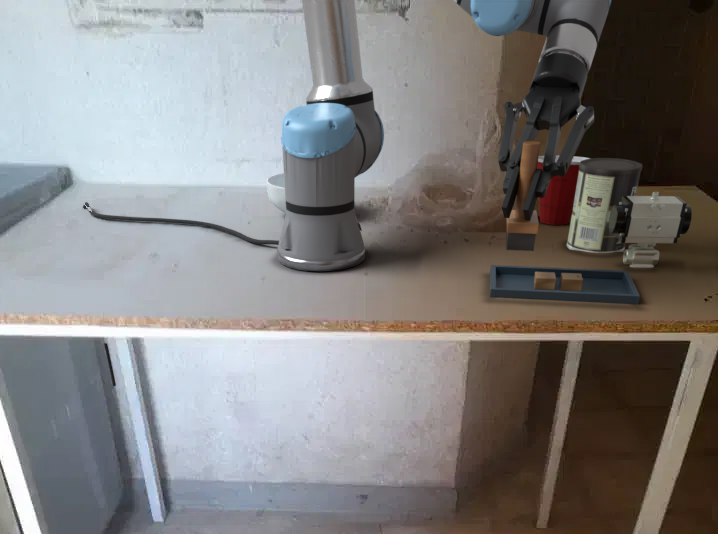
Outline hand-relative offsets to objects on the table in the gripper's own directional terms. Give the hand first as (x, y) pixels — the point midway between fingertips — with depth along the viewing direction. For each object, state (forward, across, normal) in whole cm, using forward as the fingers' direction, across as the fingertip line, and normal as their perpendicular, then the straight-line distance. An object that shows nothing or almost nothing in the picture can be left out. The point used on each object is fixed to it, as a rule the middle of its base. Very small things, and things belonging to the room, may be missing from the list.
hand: (516, 213), depth 105 cm
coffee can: (-13, -7, -31) cm, 34 cm away
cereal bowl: (-11, +51, -29) cm, 60 cm away
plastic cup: (-23, +4, -41) cm, 48 cm away
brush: (+1, 0, -6) cm, 7 cm away
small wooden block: (+4, -8, -13) cm, 16 cm away
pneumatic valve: (-7, -16, -25) cm, 31 cm away
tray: (+4, -7, -13) cm, 15 cm away
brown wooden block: (+5, -4, -12) cm, 14 cm away
